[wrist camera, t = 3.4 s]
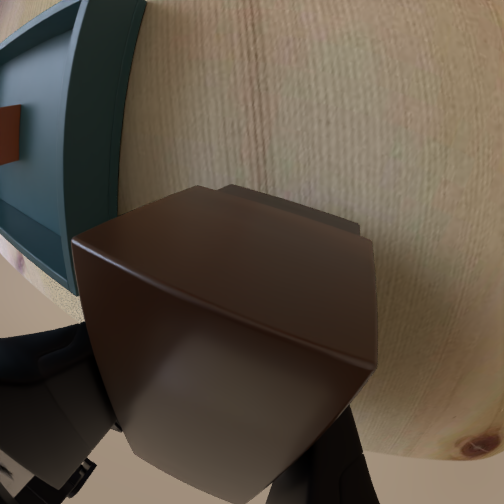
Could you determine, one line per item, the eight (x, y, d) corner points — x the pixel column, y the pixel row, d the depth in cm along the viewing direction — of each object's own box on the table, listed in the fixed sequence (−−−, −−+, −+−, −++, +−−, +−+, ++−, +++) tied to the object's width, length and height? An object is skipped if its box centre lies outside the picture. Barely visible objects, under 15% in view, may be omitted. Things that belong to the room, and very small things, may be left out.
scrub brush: (199, 365, 11) (132, 453, 7) (225, 174, 7) (68, 237, 3) (287, 402, 10) (242, 507, 6) (370, 218, 7) (380, 367, 2)
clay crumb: (3, 155, 14) (-17, 162, 13) (4, 107, 12) (-16, 111, 11) (19, 160, 13) (-4, 167, 12) (21, 103, 11) (-3, 107, 10)
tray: (-5, 195, 18) (-29, 204, 16) (-1, 64, 12) (-27, 67, 9) (120, 268, 14) (77, 297, 11) (147, 0, 7) (95, -17, 5)
